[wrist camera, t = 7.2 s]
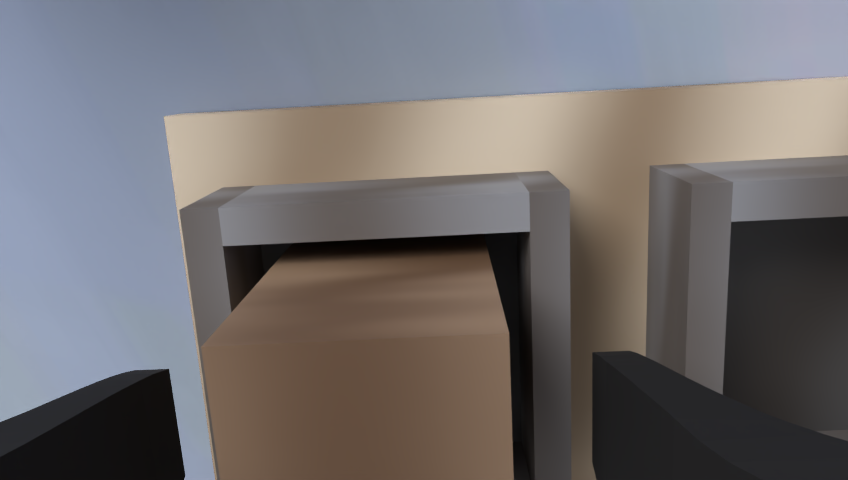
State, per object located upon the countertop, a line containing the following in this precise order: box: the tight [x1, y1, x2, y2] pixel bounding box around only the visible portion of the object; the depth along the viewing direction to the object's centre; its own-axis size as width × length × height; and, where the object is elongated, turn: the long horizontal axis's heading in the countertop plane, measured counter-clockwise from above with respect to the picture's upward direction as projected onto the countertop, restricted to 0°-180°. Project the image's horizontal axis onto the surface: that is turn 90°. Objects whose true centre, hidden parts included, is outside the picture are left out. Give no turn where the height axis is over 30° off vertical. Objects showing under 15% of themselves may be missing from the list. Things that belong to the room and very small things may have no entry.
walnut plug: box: [201, 234, 514, 480], centre depth 12 cm, size 4×4×6 cm
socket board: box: [164, 77, 848, 480], centre depth 15 cm, size 18×12×4 cm, turn 93°
